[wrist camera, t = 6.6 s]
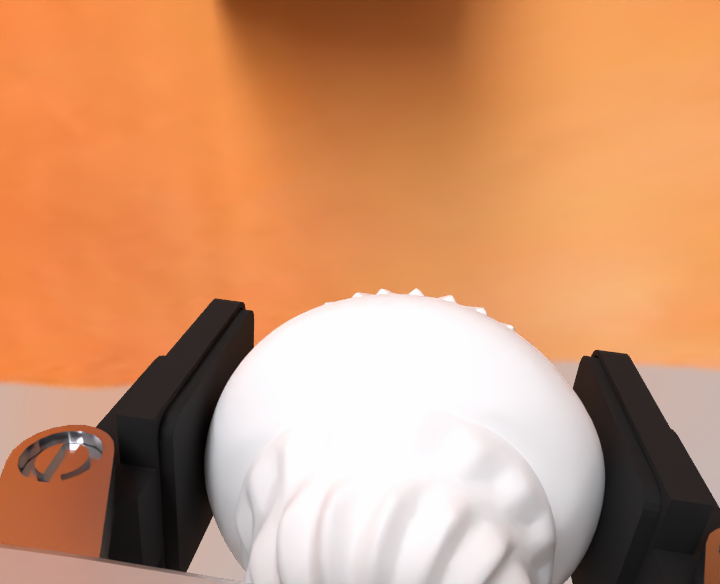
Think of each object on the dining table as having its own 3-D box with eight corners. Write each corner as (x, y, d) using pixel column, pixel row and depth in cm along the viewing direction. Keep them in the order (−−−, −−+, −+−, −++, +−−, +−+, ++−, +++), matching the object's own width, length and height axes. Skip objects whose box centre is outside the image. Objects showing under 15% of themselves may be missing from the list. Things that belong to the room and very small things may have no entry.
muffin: (545, 198, 11) (684, 435, 5) (574, 469, 13) (697, 881, 7) (229, 254, 12) (-8, 500, 6) (305, 492, 14) (194, 859, 8)
